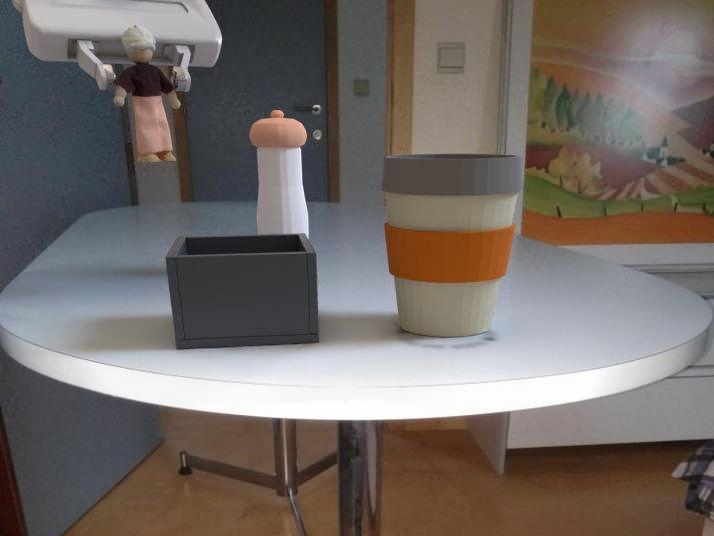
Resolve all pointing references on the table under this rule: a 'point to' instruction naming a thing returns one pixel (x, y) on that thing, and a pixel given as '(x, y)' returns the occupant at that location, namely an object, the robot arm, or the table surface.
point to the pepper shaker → (280, 175)
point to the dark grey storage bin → (243, 290)
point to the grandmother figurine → (146, 96)
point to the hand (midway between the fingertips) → (147, 85)
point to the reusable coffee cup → (449, 237)
